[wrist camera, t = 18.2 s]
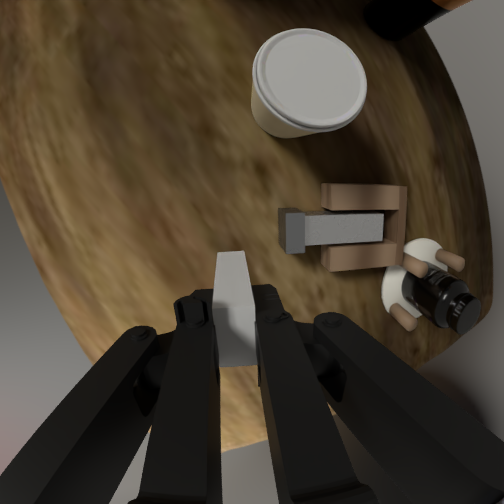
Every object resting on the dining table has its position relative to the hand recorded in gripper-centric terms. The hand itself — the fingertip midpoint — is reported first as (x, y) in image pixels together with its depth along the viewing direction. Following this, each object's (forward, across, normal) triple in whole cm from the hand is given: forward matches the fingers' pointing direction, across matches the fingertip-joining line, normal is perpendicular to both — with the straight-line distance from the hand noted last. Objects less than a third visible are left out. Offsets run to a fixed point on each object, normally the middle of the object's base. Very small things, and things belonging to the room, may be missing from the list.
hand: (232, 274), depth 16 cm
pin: (+16, +12, -1) cm, 20 cm away
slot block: (+17, +16, -1) cm, 23 cm away
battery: (+18, +23, +29) cm, 41 cm away
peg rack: (+16, +27, -10) cm, 33 cm away
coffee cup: (+17, +7, +13) cm, 23 cm away
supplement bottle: (+16, +27, -10) cm, 33 cm away
